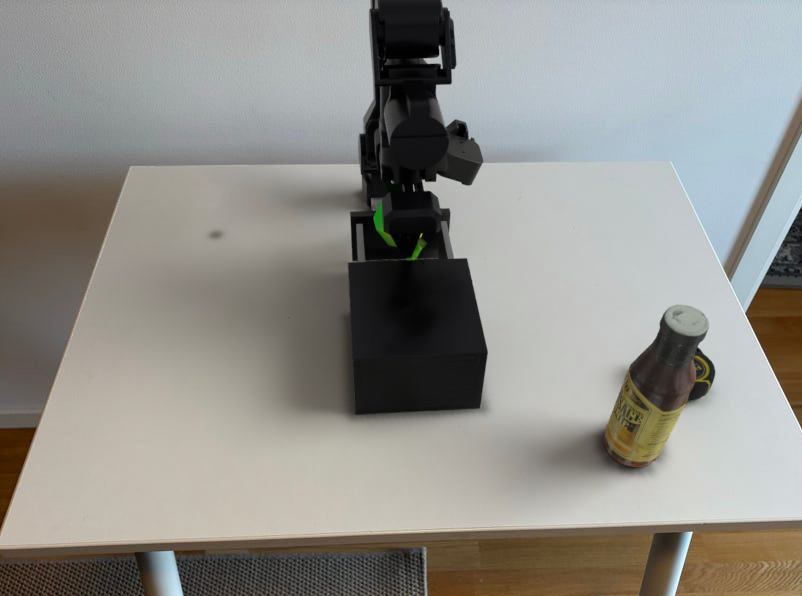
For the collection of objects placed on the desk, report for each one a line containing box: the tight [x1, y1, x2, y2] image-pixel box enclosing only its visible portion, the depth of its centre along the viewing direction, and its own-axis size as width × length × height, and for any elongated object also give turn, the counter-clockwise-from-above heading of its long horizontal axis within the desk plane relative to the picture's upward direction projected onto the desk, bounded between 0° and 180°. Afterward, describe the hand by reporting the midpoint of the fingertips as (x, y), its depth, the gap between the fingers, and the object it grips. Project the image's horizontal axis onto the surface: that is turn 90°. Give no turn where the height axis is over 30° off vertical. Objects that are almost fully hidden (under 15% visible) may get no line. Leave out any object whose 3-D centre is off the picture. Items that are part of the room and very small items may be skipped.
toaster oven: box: [347, 257, 489, 416], centre depth 86 cm, size 16×14×9 cm
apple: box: [373, 200, 427, 260], centre depth 90 cm, size 7×6×9 cm
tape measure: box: [687, 346, 716, 402], centre depth 86 cm, size 7×7×4 cm
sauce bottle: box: [603, 304, 710, 468], centre depth 74 cm, size 7×6×20 cm
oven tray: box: [349, 198, 455, 262], centre depth 95 cm, size 19×13×7 cm
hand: (404, 236), depth 91 cm, fingers closed on apple, 8 cm apart
